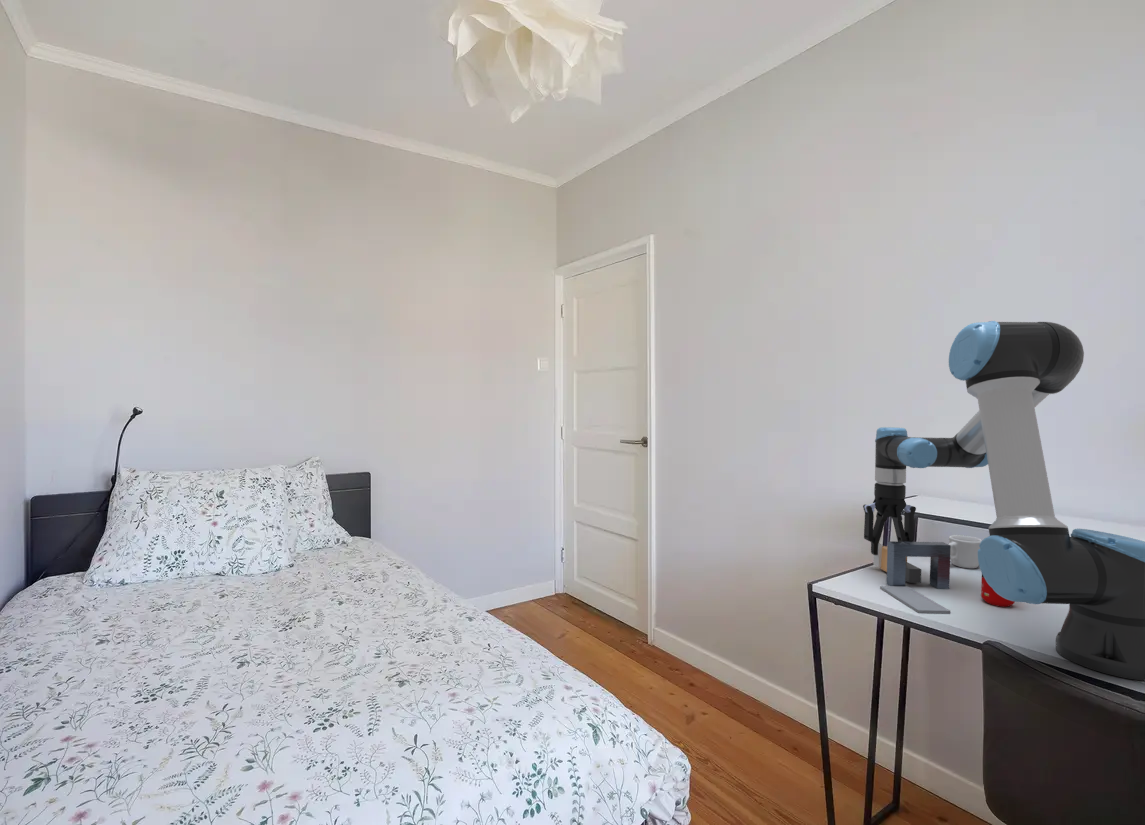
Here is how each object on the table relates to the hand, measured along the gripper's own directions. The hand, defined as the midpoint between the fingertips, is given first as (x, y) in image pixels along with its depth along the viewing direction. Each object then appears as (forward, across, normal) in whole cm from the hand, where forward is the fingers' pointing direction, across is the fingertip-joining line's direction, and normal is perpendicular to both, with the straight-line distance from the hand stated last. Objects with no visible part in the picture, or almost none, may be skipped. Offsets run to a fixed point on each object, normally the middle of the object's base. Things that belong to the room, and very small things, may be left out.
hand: (887, 566), depth 157 cm
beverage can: (+1, -12, +25) cm, 28 cm away
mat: (+1, +7, +24) cm, 25 cm away
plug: (0, 0, +6) cm, 6 cm away
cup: (+1, -23, -4) cm, 23 cm away
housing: (+1, 0, +14) cm, 14 cm away
